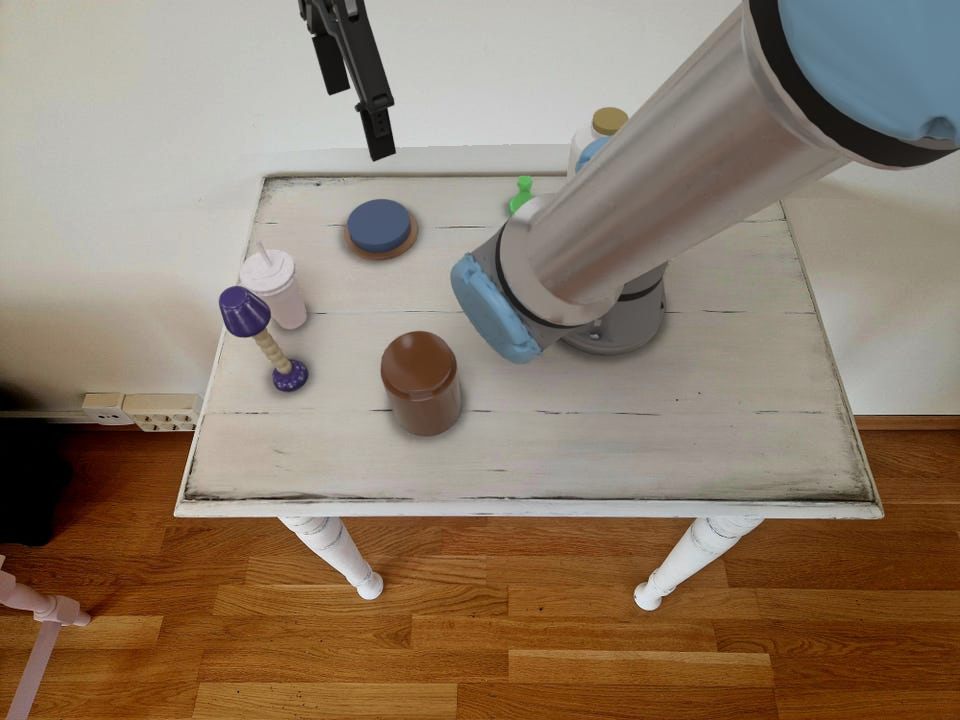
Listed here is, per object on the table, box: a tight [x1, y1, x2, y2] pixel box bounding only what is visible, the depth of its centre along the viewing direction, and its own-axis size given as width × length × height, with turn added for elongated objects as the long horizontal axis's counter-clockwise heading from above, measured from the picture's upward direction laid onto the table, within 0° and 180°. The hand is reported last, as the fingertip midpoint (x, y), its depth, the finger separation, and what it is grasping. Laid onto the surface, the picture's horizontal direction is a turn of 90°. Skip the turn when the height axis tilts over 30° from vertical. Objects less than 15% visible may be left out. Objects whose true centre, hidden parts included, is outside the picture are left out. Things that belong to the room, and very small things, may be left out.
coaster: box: [343, 209, 419, 261], centre depth 81 cm, size 10×10×1 cm
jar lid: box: [346, 198, 411, 253], centre depth 80 cm, size 9×9×2 cm
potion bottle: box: [565, 106, 630, 185], centre depth 73 cm, size 8×8×18 cm
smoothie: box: [239, 238, 308, 330], centre depth 68 cm, size 6×6×14 cm
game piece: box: [509, 175, 534, 216], centre depth 81 cm, size 4×4×6 cm
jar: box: [380, 330, 462, 437], centre depth 63 cm, size 8×8×10 cm
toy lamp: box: [218, 285, 309, 393], centre depth 62 cm, size 5×5×17 cm
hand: (360, 121), depth 65 cm, fingers open, 13 cm apart
